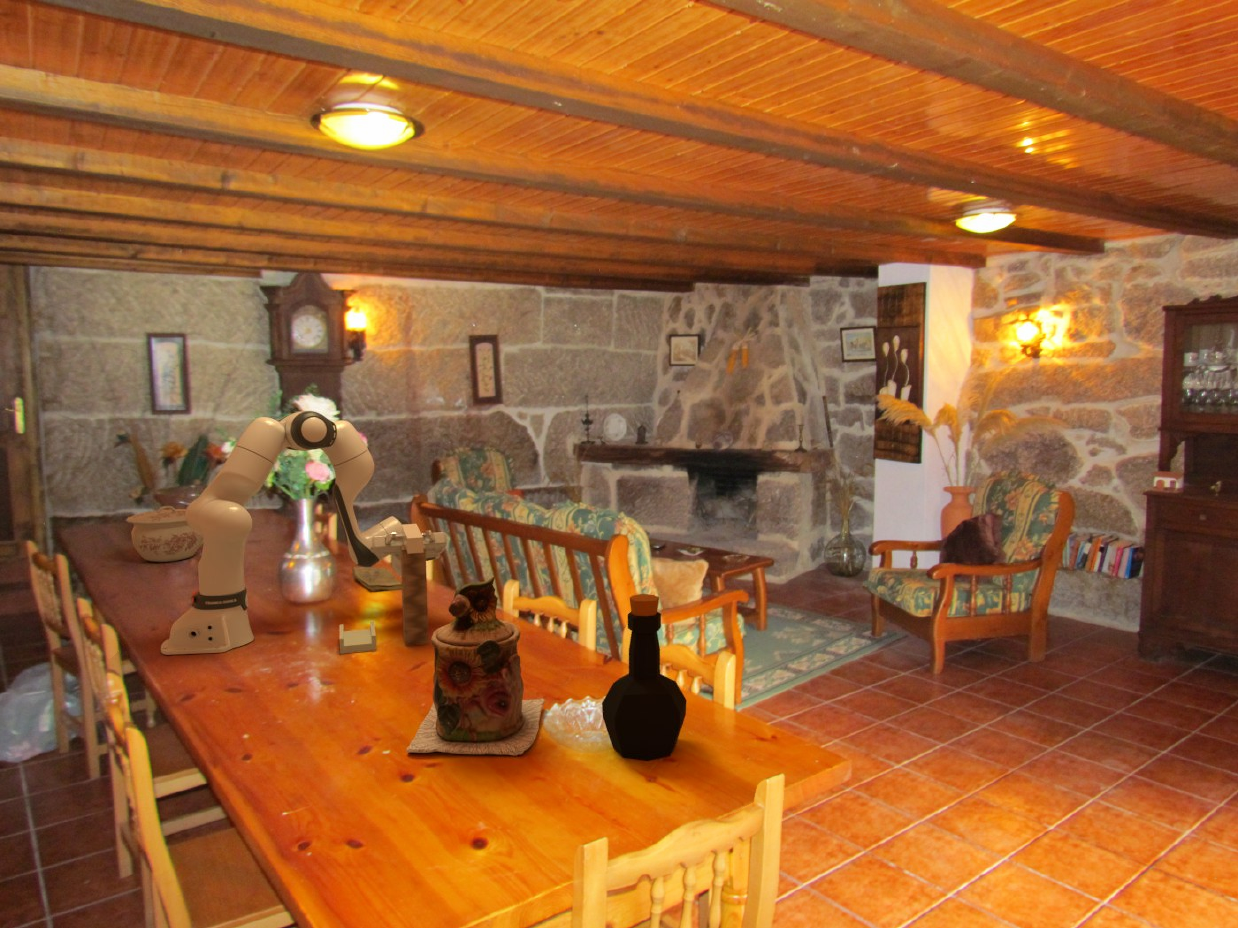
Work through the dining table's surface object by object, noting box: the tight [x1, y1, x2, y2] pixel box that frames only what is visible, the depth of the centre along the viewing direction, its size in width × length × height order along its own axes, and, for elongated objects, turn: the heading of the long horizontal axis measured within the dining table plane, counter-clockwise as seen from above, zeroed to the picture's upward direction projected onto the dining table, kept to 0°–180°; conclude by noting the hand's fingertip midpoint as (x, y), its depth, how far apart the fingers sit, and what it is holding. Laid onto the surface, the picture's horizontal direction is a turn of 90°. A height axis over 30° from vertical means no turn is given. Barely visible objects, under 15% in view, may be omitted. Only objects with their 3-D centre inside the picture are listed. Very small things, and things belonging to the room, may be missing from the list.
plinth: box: [400, 544, 430, 647], centre depth 232 cm, size 6×7×26 cm
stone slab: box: [352, 566, 402, 593], centre depth 298 cm, size 12×4×30 cm
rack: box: [339, 621, 377, 655], centre depth 231 cm, size 9×13×4 cm
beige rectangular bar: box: [402, 523, 423, 554], centre depth 232 cm, size 4×20×4 cm, turn 18°
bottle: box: [601, 593, 687, 762], centre depth 167 cm, size 16×16×30 cm
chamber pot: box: [125, 505, 204, 564], centre depth 333 cm, size 28×28×21 cm
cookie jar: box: [406, 575, 546, 757], centre depth 175 cm, size 25×25×32 cm
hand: (410, 534), depth 236 cm, fingers open, 8 cm apart
